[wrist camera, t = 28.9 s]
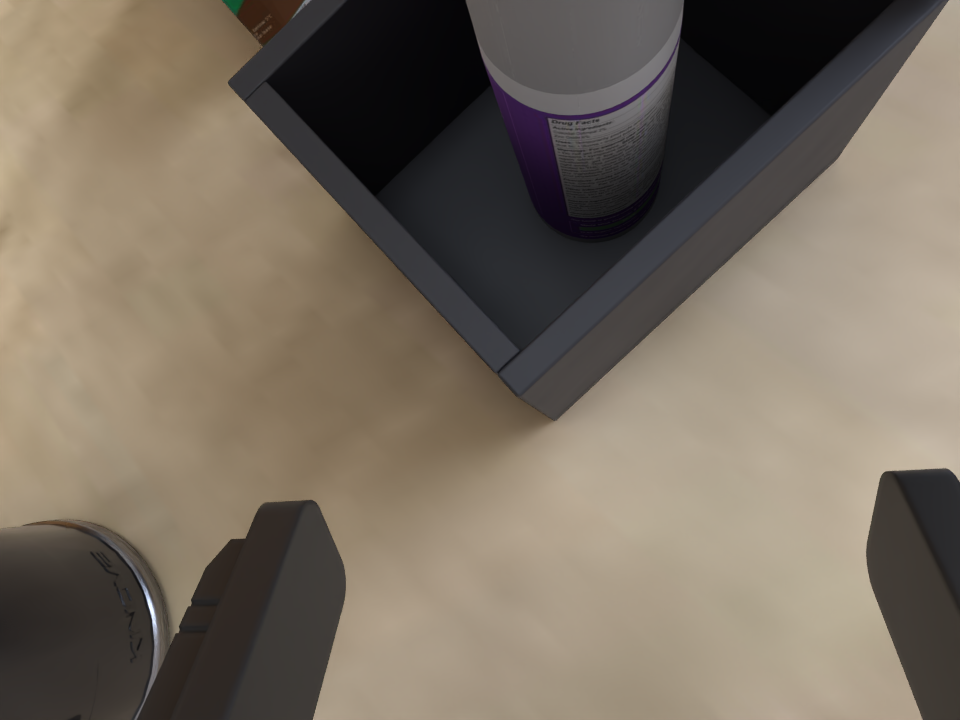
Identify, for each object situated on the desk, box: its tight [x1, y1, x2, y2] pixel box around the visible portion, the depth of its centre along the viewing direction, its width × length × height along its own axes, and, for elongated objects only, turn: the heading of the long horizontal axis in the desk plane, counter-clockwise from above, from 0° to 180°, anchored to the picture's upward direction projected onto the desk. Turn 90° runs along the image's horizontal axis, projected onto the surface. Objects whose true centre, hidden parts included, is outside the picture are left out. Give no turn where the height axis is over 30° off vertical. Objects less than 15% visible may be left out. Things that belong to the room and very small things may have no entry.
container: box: [466, 0, 684, 243], centre depth 20 cm, size 5×5×15 cm
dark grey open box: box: [228, 0, 949, 421], centre depth 23 cm, size 14×12×10 cm
